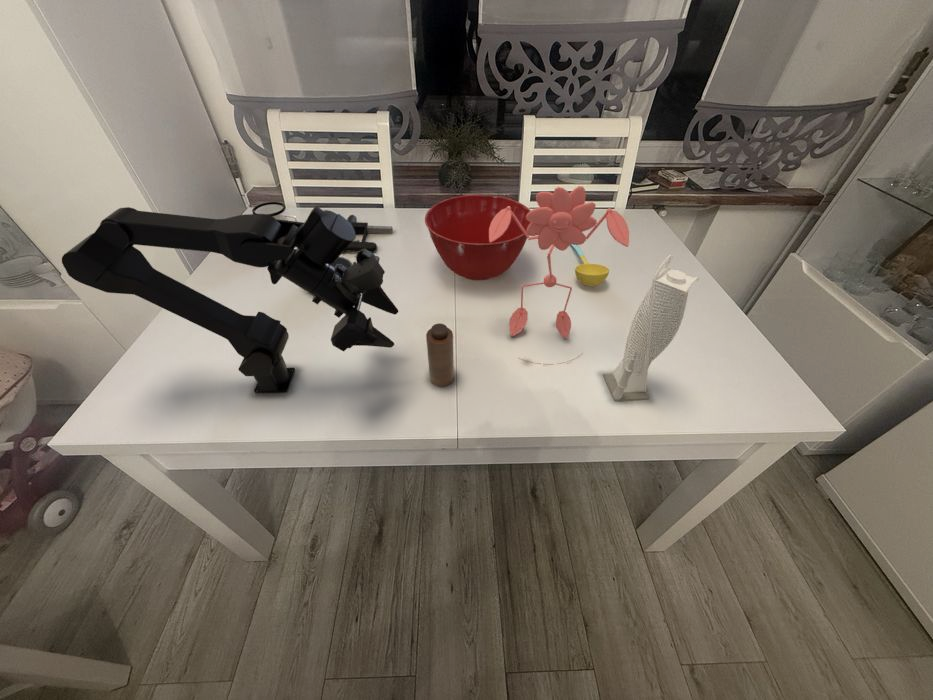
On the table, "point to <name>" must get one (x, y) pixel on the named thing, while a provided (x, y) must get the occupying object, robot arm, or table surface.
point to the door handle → (365, 234)
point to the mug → (272, 210)
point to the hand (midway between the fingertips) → (395, 328)
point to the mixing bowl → (476, 235)
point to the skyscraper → (650, 332)
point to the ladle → (590, 271)
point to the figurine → (557, 237)
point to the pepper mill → (440, 355)
